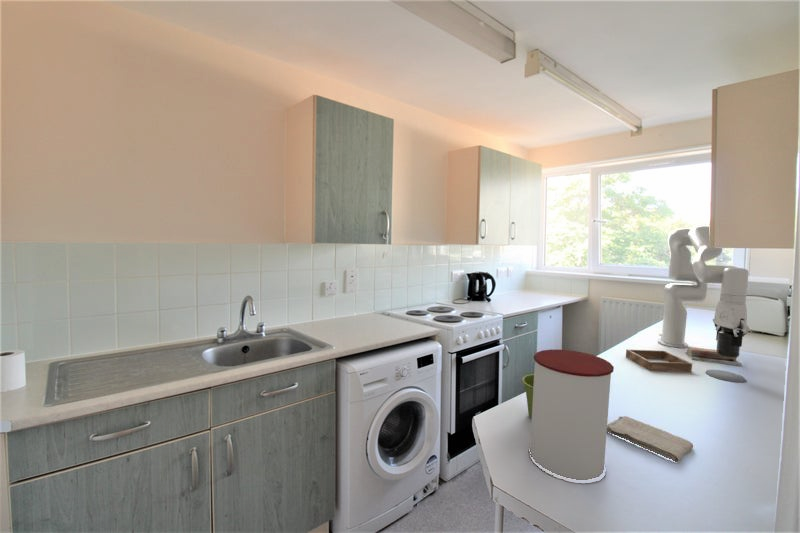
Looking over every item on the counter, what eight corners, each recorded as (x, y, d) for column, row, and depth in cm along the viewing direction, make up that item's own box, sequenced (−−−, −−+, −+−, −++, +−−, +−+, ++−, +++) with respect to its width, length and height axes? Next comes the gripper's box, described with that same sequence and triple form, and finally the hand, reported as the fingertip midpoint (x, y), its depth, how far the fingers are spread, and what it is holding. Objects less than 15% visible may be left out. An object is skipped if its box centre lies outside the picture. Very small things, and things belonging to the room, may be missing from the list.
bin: (625, 356, 170) (626, 349, 169) (663, 358, 169) (664, 350, 169) (648, 370, 153) (649, 362, 152) (691, 372, 152) (692, 363, 152)
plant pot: (512, 413, 113) (513, 377, 112) (539, 405, 119) (541, 371, 118) (542, 431, 103) (545, 392, 102) (571, 422, 108) (574, 385, 107)
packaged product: (692, 350, 167) (685, 344, 176) (691, 360, 168) (684, 354, 177) (743, 356, 160) (733, 349, 169) (742, 367, 161) (732, 360, 170)
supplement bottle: (732, 353, 150) (735, 324, 148) (743, 358, 143) (746, 328, 142) (712, 351, 151) (715, 322, 150) (721, 356, 145) (724, 326, 144)
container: (614, 459, 91) (621, 360, 89) (594, 495, 78) (603, 381, 76) (543, 433, 102) (548, 345, 100) (516, 461, 89) (521, 360, 87)
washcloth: (620, 421, 111) (621, 411, 110) (694, 450, 96) (695, 439, 96) (601, 434, 104) (602, 423, 103) (678, 467, 89) (679, 454, 89)
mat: (698, 370, 154) (698, 369, 154) (727, 371, 154) (728, 370, 154) (721, 381, 142) (721, 380, 142) (754, 382, 142) (754, 381, 142)
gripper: (705, 295, 154) (701, 337, 156) (742, 302, 137) (737, 350, 138) (724, 295, 154) (720, 337, 155) (763, 303, 137) (758, 350, 138)
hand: (728, 343), depth 147 cm, fingers closed on supplement bottle, 6 cm apart
